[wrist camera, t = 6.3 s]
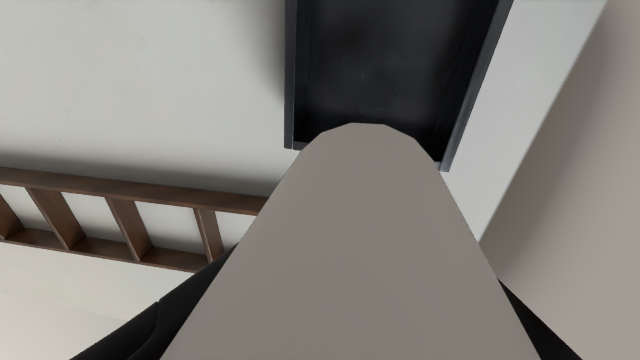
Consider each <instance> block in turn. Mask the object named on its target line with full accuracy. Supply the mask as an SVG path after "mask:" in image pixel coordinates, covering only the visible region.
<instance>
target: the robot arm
mask: <svg viewBox="0 0 640 360" xmlns="http://www.w3.org/2000/svg"><path fill="white" fill-rule="evenodd" d="M238 243H239V242H238ZM238 243H237V244H235V245H234V246H233V247H231V248H230V249H229V250H227V251H226V252H224V253H223V254H222V255H220V256H219V257H217V258H216V259H215V260H213V261H212V262H211V263H209V264H208V265H206V266H205V267H204V268H202V269H201V270H200V271H198V272H197V273H195V274H194V275H193V276H191V277H190V278H188V279H187V280H186V281H184V282H183V283H182V284H180V285H179V286H177V287H176V288H175V289H173V290H172V291H170V292H169V293H168V294H166V295H165V296H164V297H162V298H161V299H160V300H159V302H155V303H154V304H152V305H151V306H150V307H148V308H147V309H145V310H144V311H143V312H141V313H140V314H138V315H137V316H135V317H134V318H133V319H131V320H130V321H128V322H127V323H125V324H124V325H123V326H121V327H120V328H118V329H117V330H115V331H114V332H112V333H110V334H109V335H107V336H106V337H104V338H103V339H102V340H100V341H98V342H97V343H95V344H94V345H92V346H90V347H89V348H87V349H86V350H84V351H83V352H81V353H79V354H78V355H76V356H74V357H73V358H71V359H70V360H160V358H161V357H162V356H163V354H164V353H165V351H166V350H167V348H168V347H169V345H170V344H171V342H172V341H173V339H174V338H175V336H176V335H177V333H178V332H179V330H180V329H181V327H182V326H183V325H184V323H185V322H186V320H187V319H188V317H189V316H190V314H191V313H192V311H193V310H194V308H195V307H196V305H197V304H198V302H199V301H200V299H201V298H202V296H203V295H204V294H205V292H206V291H207V289H208V288H209V286H210V285H211V283H212V282H213V280H214V279H215V277H216V276H217V274H218V273H219V271H220V270H221V268H222V267H223V265H224V264H225V263H226V261H227V260H228V258H229V257H230V255H231V254H232V252H233V251H234V249H235V248H236V246H237V245H238ZM496 278H497V277H496ZM498 281H499V283H500V285H501V287H502V289H503V291H504V292H505V294H506V296H507V298H508V300H509V302H510V304H511V305H512V307H513V309H514V311H515V313H516V315H517V316H518V318H519V320H520V322H521V324H522V326H523V328H524V329H525V331H526V333H527V335H528V337H529V339H530V340H531V342H532V344H533V346H534V348H535V350H536V352H537V353H538V355H539V357H540V359H541V360H582V359H581V358H580V357H579V356H578V355H577V354H576V353H575V352H574V351H573V350H572V349H571V348H570V347H569V346H568V345H566V343H565V342H564V341H562V340H561V339H560V338H559V337H558V336H557V335H556V334H555V333H554V332H553V331H552V330H551V329H550V328H549V327H548V326H546V324H545V323H544V322H542V320H540V319H539V318H538V317H537V316H536V315H535V314H534V313H533V312H532V311H531V310H530V309H529V308H528V307H527V306H526V305H525V304H524V303H523V302H522V301H521V300H520V299H518V298H517V297H516V296H515V295H514V294H513V293H512V292H511V291H510V290H509V289H508V288H507V287H506V286H505V285H504V284H503V283H502V282H501V281H500V280H499V279H498Z"/></svg>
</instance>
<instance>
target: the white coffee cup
mask: <svg viewBox="0 0 640 360" xmlns="http://www.w3.org/2000/svg"><path fill="white" fill-rule="evenodd" d="M160 360H541V359H540V357H539V355H538V353H537V352H536V350H535V348H534V346H533V344H532V342H531V340H530V339H529V337H528V335H527V333H526V331H525V329H524V328H523V326H522V324H521V322H520V320H519V318H518V316H517V315H516V313H515V311H514V309H513V307H512V305H511V304H510V302H509V300H508V298H507V296H506V294H505V292H504V291H503V289H502V287H501V285H500V283H499V281H498V279H497V278H496V276H495V274H494V272H493V270H492V268H491V267H490V265H489V263H488V261H487V259H486V257H485V255H484V254H483V252H482V250H481V248H480V246H479V244H478V243H477V241H476V239H475V237H474V235H473V233H472V231H471V230H470V228H469V226H468V224H467V222H466V220H465V219H464V217H463V215H462V213H461V211H460V209H459V207H458V206H457V204H456V202H455V200H454V198H453V196H452V195H451V193H450V191H449V189H448V187H447V185H446V183H445V182H444V180H443V178H442V176H441V174H440V172H439V171H438V169H437V167H436V165H435V163H434V161H433V160H432V159H431V157H430V156H429V155H428V154H427V153H426V152H425V150H424V149H423V148H422V147H421V146H420V145H419V143H418V142H417V141H416V140H415V139H414V138H412V137H410V136H408V135H406V134H404V133H401V132H399V131H397V130H395V129H393V128H391V127H389V126H387V125H383V124H365V123H349V124H346V125H343V126H340V127H337V128H334V129H331V130H328V131H325V132H322V133H320V134H319V135H318V136H317V137H316V138H315V139H314V140H313V141H312V142H310V143H309V144H308V145H307V146H306V147H305V148H304V149H303V150H302V151H301V152H300V153H299V155H298V156H297V158H296V159H295V161H294V162H293V164H292V165H291V167H290V168H289V170H288V171H287V172H286V174H285V175H284V177H283V178H282V180H281V181H280V183H279V184H278V186H277V187H276V189H275V190H274V192H273V193H272V195H271V196H270V198H269V199H268V201H267V202H266V203H265V205H264V206H263V208H262V209H261V211H260V212H259V214H258V215H257V217H256V218H255V220H254V221H253V223H252V224H251V226H250V227H249V229H248V230H247V232H246V233H245V234H244V236H243V237H242V239H241V240H240V242H239V243H238V245H237V246H236V248H235V249H234V251H233V252H232V254H231V255H230V257H229V258H228V260H227V261H226V263H225V264H224V265H223V267H222V268H221V270H220V271H219V273H218V274H217V276H216V277H215V279H214V280H213V282H212V283H211V285H210V286H209V288H208V289H207V291H206V292H205V294H204V295H203V296H202V298H201V299H200V301H199V302H198V304H197V305H196V307H195V308H194V310H193V311H192V313H191V314H190V316H189V317H188V319H187V320H186V322H185V323H184V325H183V326H182V327H181V329H180V330H179V332H178V333H177V335H176V336H175V338H174V339H173V341H172V342H171V344H170V345H169V347H168V348H167V350H166V351H165V353H164V354H163V356H162V357H161V358H160Z"/></svg>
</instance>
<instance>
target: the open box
mask: <svg viewBox="0 0 640 360" xmlns="http://www.w3.org/2000/svg"><path fill="white" fill-rule="evenodd" d="M513 1H514V0H285V97H284V148H287V149H294V150H300V151H302V150H303V149H304V148H305V147H306V146H307V145H308V144H309V143H310V142H312V141H313V140H314V139H315V138H316V137H317V136H318V135H319V134H320V133H322V132H325V131H328V130H331V129H334V128H337V127H340V126H343V125H346V124H349V123H365V124H383V125H387V126H389V127H391V128H393V129H395V130H397V131H399V132H401V133H404V134H406V135H408V136H410V137H412V138H414V139H415V140H416V141H417V142H418V143H419V145H420V146H421V147H422V148H423V149H424V150H425V152H426V153H427V154H428V155H429V156H430V157H431V159H432V160H433V161H434V163H435V165H436V167H437V169H438V170H439V171H444V172H449V169H450V167H451V164H452V161H453V159H454V156H455V153H456V151H457V148H458V146H459V143H460V140H461V138H462V135H463V132H464V130H465V127H466V125H467V122H468V119H469V117H470V114H471V111H472V109H473V106H474V103H475V101H476V98H477V96H478V93H479V90H480V88H481V85H482V82H483V80H484V77H485V75H486V72H487V69H488V67H489V64H490V61H491V59H492V56H493V53H494V51H495V48H496V46H497V43H498V40H499V38H500V35H501V32H502V30H503V27H504V25H505V22H506V19H507V17H508V14H509V11H510V9H511V6H512V3H513Z"/></svg>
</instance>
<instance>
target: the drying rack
mask: <svg viewBox="0 0 640 360" xmlns="http://www.w3.org/2000/svg"><path fill="white" fill-rule="evenodd" d="M0 184H3V185H11V186H19V187H25V189H26V191H27V192H28V194H29V195H30V197H31V198H32V200H33V201H34V203H35V204H36V206H37V207H38V209H39V210H40V212H41V213H42V215H43V216H44V218H45V219H46V221H47V222H48V224H49V225H50V227H51V228H52V230H53V231H54V232H48V231H42V230H35V229H28V228H24V226H23V225H22V224H21V222H20V221H19V219H18V218H17V217H16V215H15V214H14V213H13V211H12V210H11V209H10V207H9V206H8V204H7V203H6V202H5V200H4V199H3V198H2V196H1V195H0V242H4V243H10V244H16V245H22V246H29V247H35V248H41V249H47V250H54V251H60V252H66V253H72V254H79V255H85V256H91V257H97V258H103V259H110V260H116V261H122V262H128V263H135V264H141V265H147V266H153V267H159V268H166V269H172V270H178V271H184V272H191V273H197V272H198V271H200V270H201V269H202V268H204V267H205V266H206V265H208V264H209V263H211V262H212V261H213V260H215V259H216V258H217V257H219V256H220V255H222V254H223V253H224V249H223V245H222V241H221V237H220V233H219V228H218V224H217V220H216V216H215V212H214V211H221V212H229V213H237V214H245V215H253V216H257V215H258V214H259V212H260V211H261V209H262V208H263V206H264V205H265V203H266V202H267V201H268V199H269V197H260V196H251V195H242V194H233V193H225V192H216V191H207V190H198V189H189V188H180V187H172V186H163V185H154V184H145V183H136V182H127V181H119V180H110V179H101V178H92V177H83V176H74V175H66V174H57V173H48V172H39V171H30V170H21V169H13V168H4V167H0ZM60 192H68V193H76V194H84V195H92V196H100V197H105V200H106V202H107V204H108V206H109V208H110V210H111V212H112V214H113V216H114V218H115V220H116V222H117V224H118V226H119V228H120V230H121V232H122V234H123V236H124V238H125V240H126V242H127V243H122V242H115V241H109V240H102V239H95V238H89V237H86V236H85V234H84V232H83V230H82V229H81V227H80V225H79V224H78V222H77V220H76V218H75V217H74V215H73V213H72V212H71V210H70V208H69V207H68V205H67V203H66V201H65V200H64V198H63V196H62V195H61V193H60ZM134 201H140V202H148V203H156V204H165V205H173V206H181V207H189V208H193V210H194V214H195V217H196V220H197V224H198V227H199V231H200V234H201V238H202V241H203V245H204V248H205V252H206V255H202V254H196V253H189V252H182V251H176V250H169V249H162V248H155V247H153V245H152V243H151V241H150V238H149V236H148V234H147V231H146V229H145V226H144V224H143V222H142V219H141V217H140V215H139V212H138V210H137V208H136V205H135V203H134Z"/></svg>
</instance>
